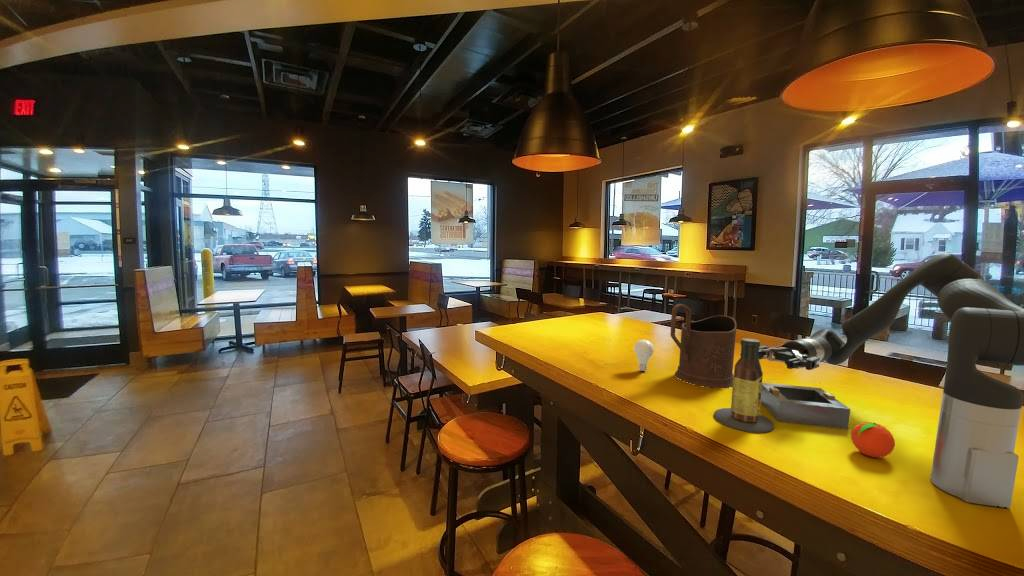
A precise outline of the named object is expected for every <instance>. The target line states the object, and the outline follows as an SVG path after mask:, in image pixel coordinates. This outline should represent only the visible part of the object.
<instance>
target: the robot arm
mask: <svg viewBox="0 0 1024 576" xmlns="http://www.w3.org/2000/svg"><path fill="white" fill-rule="evenodd" d="M918 286H922V287H923V288H924V289H926V290H927V291H928V292H930V293H931V294H932V295H934V296H935V297H937V304H938V307H939V308H940V310H941V312H942V313H943V315H944V316H945V317H946V318H947V319H948V320H949V321H950V323H949V329H948V330H949V331H948V344H947V345H948V346H947V348H948V349H947V356H946V357H947V360H946V368H945V377H944V384H943V391H942V396H941V404H940V410H939V416H938V422H937V424H938V425H937V430H936V437H935V444H934V446H935V447H934V452H933V456H932V457H933V459H932V466H931V473H930V482H931V483H932V484H933V485H934V486H936V487H937V488H938V489H941V491H943V492H946V493H948V494H950V495H952V496H954V497H956V498H959V499H961V500H963V501H964V502H966V503H970V504H975V505H976V504H977V505H984V506H991V507H997V506H999V508H1004V507H1007V508H1006V509H1011V508H1012V507H1011V505H1012V499H1013V494H1014V488H1015V483H1016V478H1017V477H1016V476H1017V471H1018V470H1017V469H1018V464H1019V458H1020V456H1019V455H1018V454H1017V453H1015V448H1016V444H1017V443H1016V442H1017V437H1018V431H1019V427H1020V426H1019V425H1020V421H1021V420H1020V419H1021V414H1022V408H1023V403H1024V394H1023V391H1022V390H1021V389H1019V388H1017V387H1016V386H1014V385H1011V384H1009V383H1007V382H1004V381H1002V380H999V379H996V378H994V377H992V376H989V375H988V374H986V373H984V372H982V371H980V370H979V369H978V368H977V366H976V365H977V363H976V362H985V363H993V364H1001V365H1008V366H1016V367H1017V366H1022V367H1023V366H1024V308H1023V307H1021V306H1019V305H1018V304H1015V303H1014V302H1013V301H1011V300H1010V299H1009V298H1007V297H1006V296H1005V295H1004V294H1003V293H1002V292H1001V291H1000V290H998V288H997V287H995V286H993V285H992V284H990V283H989V282H988V281H985V278H984V277H983V276H982V275H981V273H979V272H978V271H977V270H976V269H974V268H972V267H971V266H970V265H969V264H967V263H966V262H965V261H963V260H962V259H960V258H959V257H957V256H956V255H955V254H953V253H950V252H944V253H939V254H937V255H935V256H932V257H931V258H930V259H927V260H926V261H924V262H923V263H922V264H919V266H917V267H916V268H914V270H912V271H910V272H909V274H907V275H906V276H905V277H903V278H902V279H901V280H900V281H899V282H897V283H895V285H893V286H892V287H890V289H888V290H887V291H886V292H885V293H884V294H882V295H881V296H880V297H879V298H878V299H876V300H875V301H874V302H872V303H871V304H870V305H868V306H867V307H865V308H863V309H862V310H861V311H859V312H857V313H856V314H854V315H852V316H851V317H850V318H848V319H847V320H845V321H843V322H842V324H841V325H840V326H841V329H842V331H843V333H844V335H845V337H846V342H844V340H843V339H842V338H841V337H840V336H839V335H838V334H837V333H836V332H835V331H833V330H831V329H830V328H822V329H819V330H817V331H815V332H814V333H813V334H812V335H810V337H809V338H799V339H795V340H789V341H786V342H785V343H783V344H782V345H781V346H779V347H770V346H769V345H760V347H759V352H758V358H759V361H761V360H765V359H766V360H768V361H770V362H779V363H784V364H785V365H786V369H789V370H792V369H803V368H805V370H808V371H811V370H815V369H816V368H819V367H820V363H821V362H822V363H823V362H826V363H827V364H828V365H835V366H836V365H840V364H844V362H846V361H847V360H848V359H849V358H850V357H851V356H852V355H853V354H854V352H855V351H857V350H858V348H859V347H860V346H862V345H863V344H864V343H865V342H867V341H868V340H870V339H872V338H873V337H875V336H877V335H879V334H881V333H882V332H884V331H885V330H887V329H888V328H889V327H890V326H891V325H892V324H893V323H894V322H895V320H896V318H897V316H898V313H899V312H900V309H901V306H902V304H903V303H904V300H905V299H906V297H907V296H908V295H909V294H910V293H911V292H912V291H913V290H914V289H916V287H918Z"/></svg>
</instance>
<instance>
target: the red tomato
mask: <svg viewBox="0 0 1024 576" xmlns="http://www.w3.org/2000/svg"><path fill="white" fill-rule="evenodd" d="M850 437H851V438H850V439H851V441H852V444H853V445H854V446H855V448H856V449H857V451H859V452H861V453H862V454H863V455H866V456H869V457H872V458H884V457H887V456H888V455H891V453H893V451H894V449H895V447H896V441H895V438H894V434H892V433H891V431H890V430H888V429H887V428H886V427H885V426H883V425H881V424H878V423H876V422H872V421H871V422H869V421H865V422H863V423H862V422H861V423H859V424H857V425H855V426H854V427H853V429H852V431H851V433H850Z"/></svg>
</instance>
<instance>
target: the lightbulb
mask: <svg viewBox="0 0 1024 576" xmlns="http://www.w3.org/2000/svg"><path fill="white" fill-rule="evenodd" d="M654 350H655V348H654V345H653V343H652V342H651V341H650V340H647V339H639V340H638V341H636V343H635V344H634V346H633V351H634V353H635V355H636V357H637V362H638V371H640V372H642V371H644V372H646V371H647V370H648V363H649V361H650V358H651V357H652V356H653V354H654Z"/></svg>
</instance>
